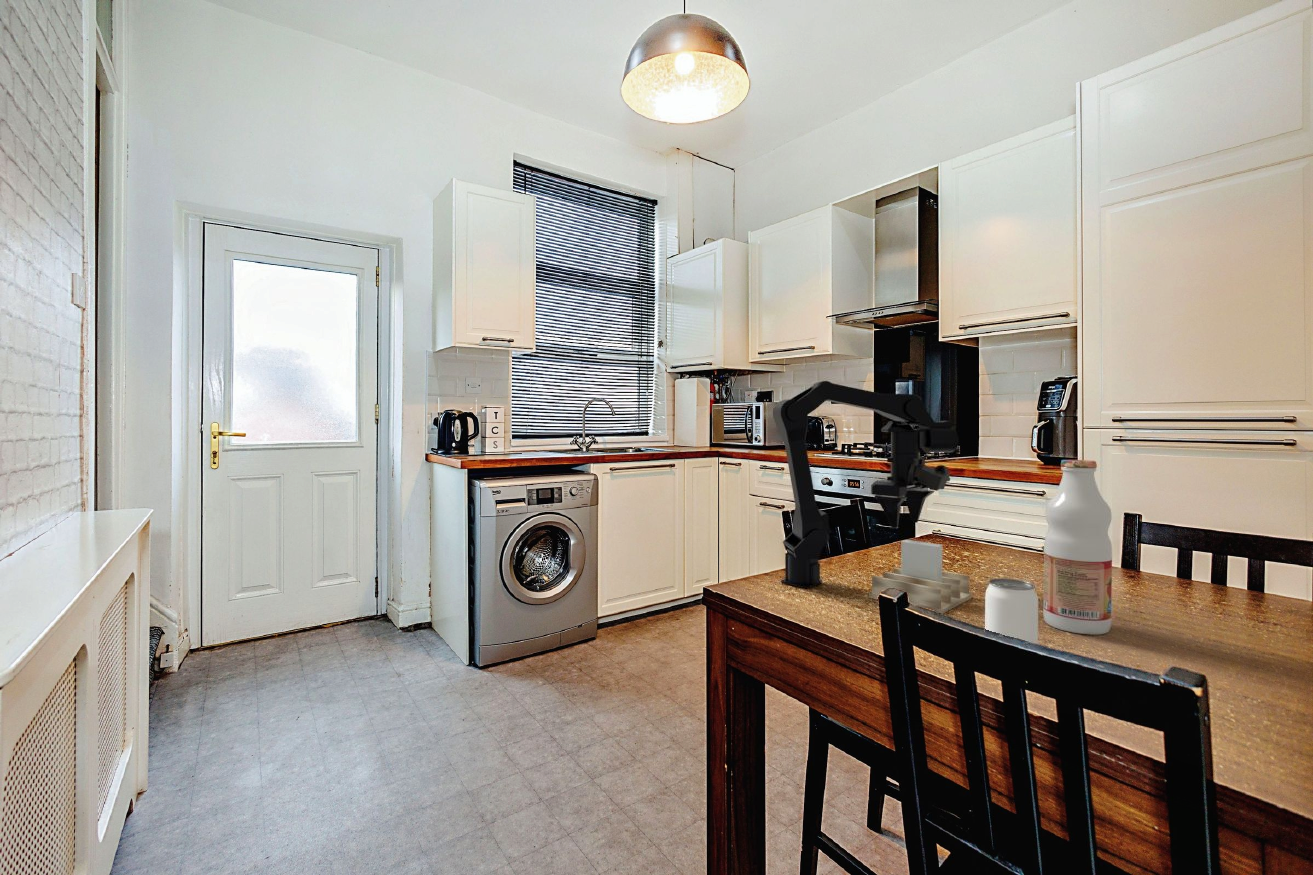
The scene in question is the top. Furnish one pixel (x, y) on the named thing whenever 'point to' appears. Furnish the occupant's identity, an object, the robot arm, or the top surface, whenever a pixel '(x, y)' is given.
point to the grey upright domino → (921, 560)
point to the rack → (926, 589)
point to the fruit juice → (1078, 554)
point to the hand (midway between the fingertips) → (905, 525)
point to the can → (1012, 609)
